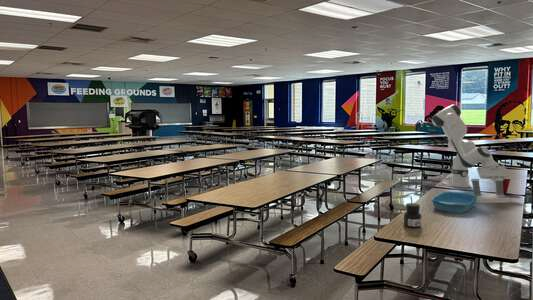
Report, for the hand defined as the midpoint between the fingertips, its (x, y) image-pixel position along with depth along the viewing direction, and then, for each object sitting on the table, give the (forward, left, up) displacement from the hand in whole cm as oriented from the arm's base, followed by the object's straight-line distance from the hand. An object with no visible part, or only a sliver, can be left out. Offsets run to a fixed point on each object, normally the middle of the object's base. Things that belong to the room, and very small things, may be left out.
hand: (497, 182), depth 265 cm
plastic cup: (-19, +19, -12) cm, 29 cm away
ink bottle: (+50, -89, -12) cm, 103 cm away
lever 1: (+1, -16, -7) cm, 18 cm away
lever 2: (+3, 0, -7) cm, 8 cm away
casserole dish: (+17, -43, -12) cm, 48 cm away
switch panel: (+2, -8, -12) cm, 14 cm away
